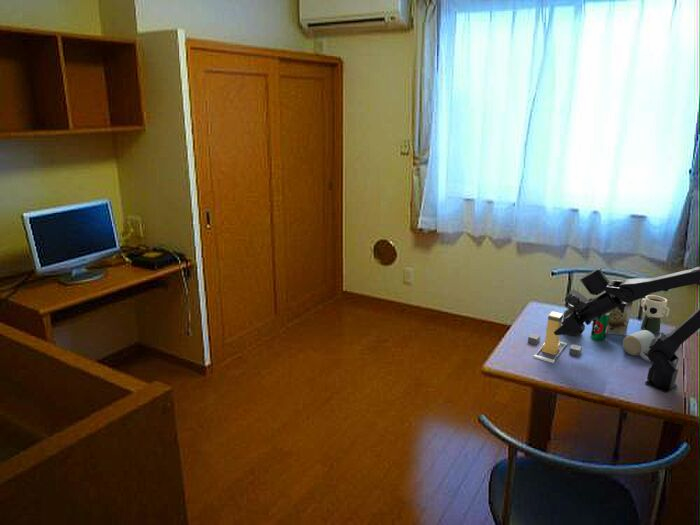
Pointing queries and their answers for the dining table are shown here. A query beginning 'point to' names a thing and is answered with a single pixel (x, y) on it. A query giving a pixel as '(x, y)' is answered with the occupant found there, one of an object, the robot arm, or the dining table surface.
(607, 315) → the soda can
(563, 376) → the dining table surface
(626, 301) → the robot arm
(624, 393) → the dining table surface
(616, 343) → the dining table surface
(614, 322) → the coffee box
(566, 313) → the supplement bottle
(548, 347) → the amber handle
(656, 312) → the character mug
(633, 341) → the ceramic mug
